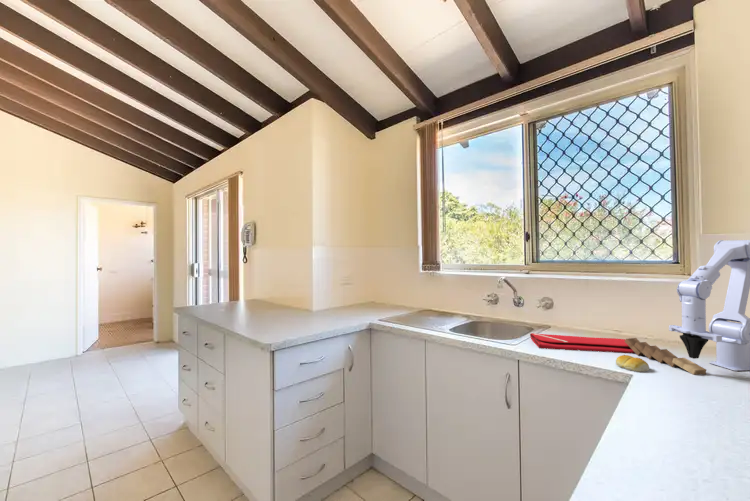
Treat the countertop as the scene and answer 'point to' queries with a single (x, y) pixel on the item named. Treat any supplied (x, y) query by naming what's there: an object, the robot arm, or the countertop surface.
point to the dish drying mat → (580, 343)
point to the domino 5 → (689, 366)
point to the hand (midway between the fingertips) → (693, 357)
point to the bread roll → (632, 363)
